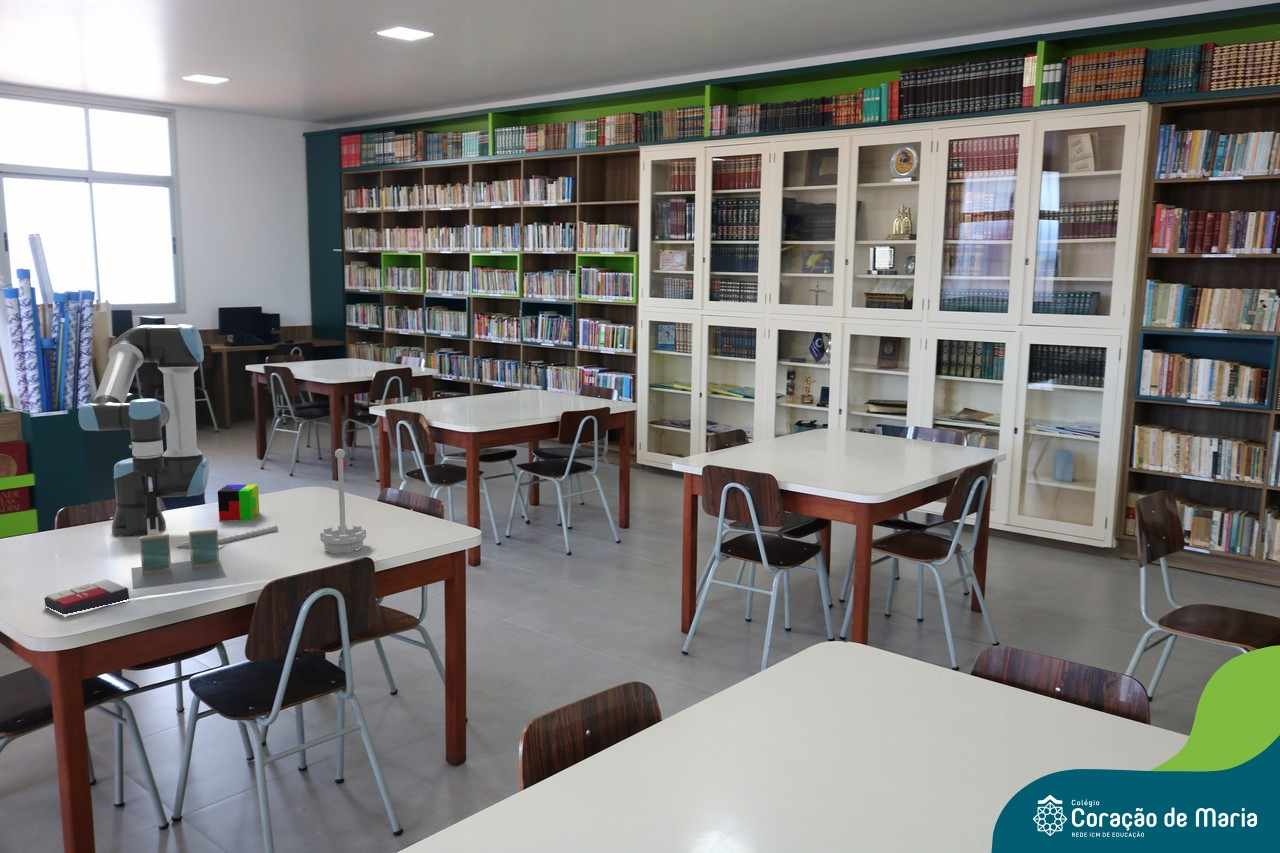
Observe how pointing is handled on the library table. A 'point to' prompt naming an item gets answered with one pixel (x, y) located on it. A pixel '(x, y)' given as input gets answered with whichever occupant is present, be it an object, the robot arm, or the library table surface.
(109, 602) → the black red flat box
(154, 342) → the robot arm
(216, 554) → the tile
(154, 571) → the tile
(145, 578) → the mat
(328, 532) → the flag stand
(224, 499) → the puzzle toy
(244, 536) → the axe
